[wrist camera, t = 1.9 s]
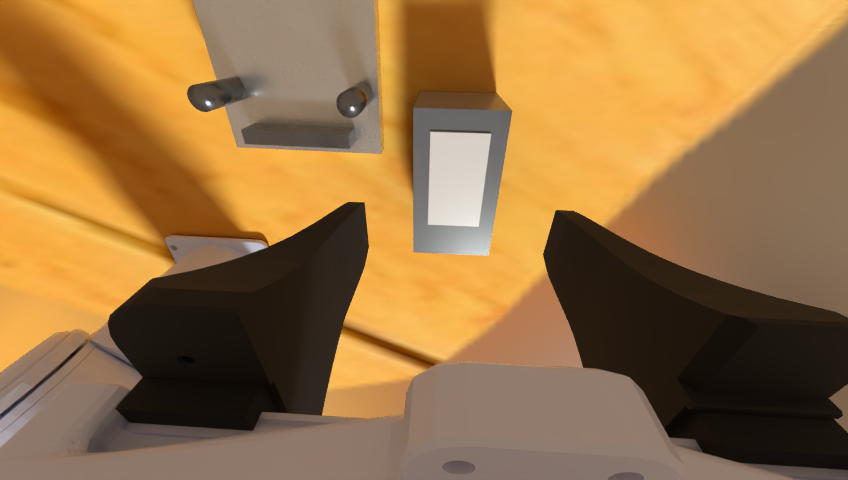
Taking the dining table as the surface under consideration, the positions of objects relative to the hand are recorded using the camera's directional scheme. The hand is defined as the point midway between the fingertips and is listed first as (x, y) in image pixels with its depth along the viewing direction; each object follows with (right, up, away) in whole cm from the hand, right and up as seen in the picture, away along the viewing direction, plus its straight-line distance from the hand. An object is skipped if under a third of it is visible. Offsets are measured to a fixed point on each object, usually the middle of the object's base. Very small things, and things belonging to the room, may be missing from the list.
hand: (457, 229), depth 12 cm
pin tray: (-8, +11, +4) cm, 14 cm away
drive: (+1, +5, +8) cm, 10 cm away
